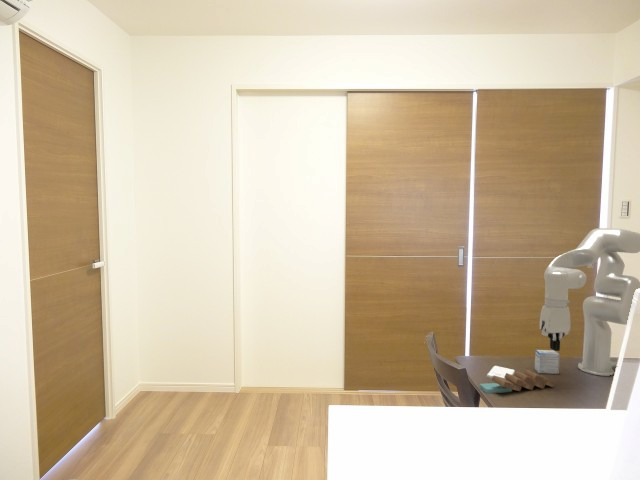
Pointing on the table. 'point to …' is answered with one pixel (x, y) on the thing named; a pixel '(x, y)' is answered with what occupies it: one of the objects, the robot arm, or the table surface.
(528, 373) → the tile
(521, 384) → the brown wooden block
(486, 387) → the tile
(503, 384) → the tile
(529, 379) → the brown flat rectangular block
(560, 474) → the table surface
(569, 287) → the robot arm
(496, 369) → the external hard drive
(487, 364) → the table surface
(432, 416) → the table surface
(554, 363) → the medicine box
